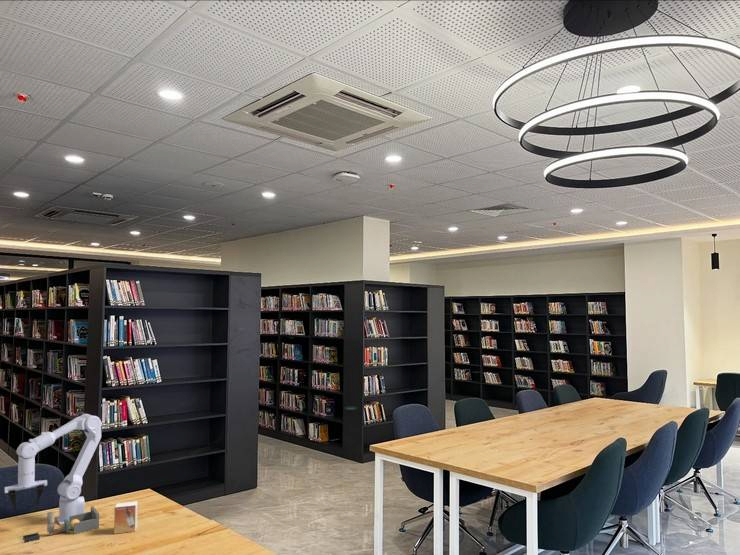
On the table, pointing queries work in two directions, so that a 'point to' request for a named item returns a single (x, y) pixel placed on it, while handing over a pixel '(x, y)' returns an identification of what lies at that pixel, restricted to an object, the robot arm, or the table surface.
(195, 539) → the table surface
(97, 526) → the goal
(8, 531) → the table surface
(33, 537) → the track
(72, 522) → the ball
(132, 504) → the small box
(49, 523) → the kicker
